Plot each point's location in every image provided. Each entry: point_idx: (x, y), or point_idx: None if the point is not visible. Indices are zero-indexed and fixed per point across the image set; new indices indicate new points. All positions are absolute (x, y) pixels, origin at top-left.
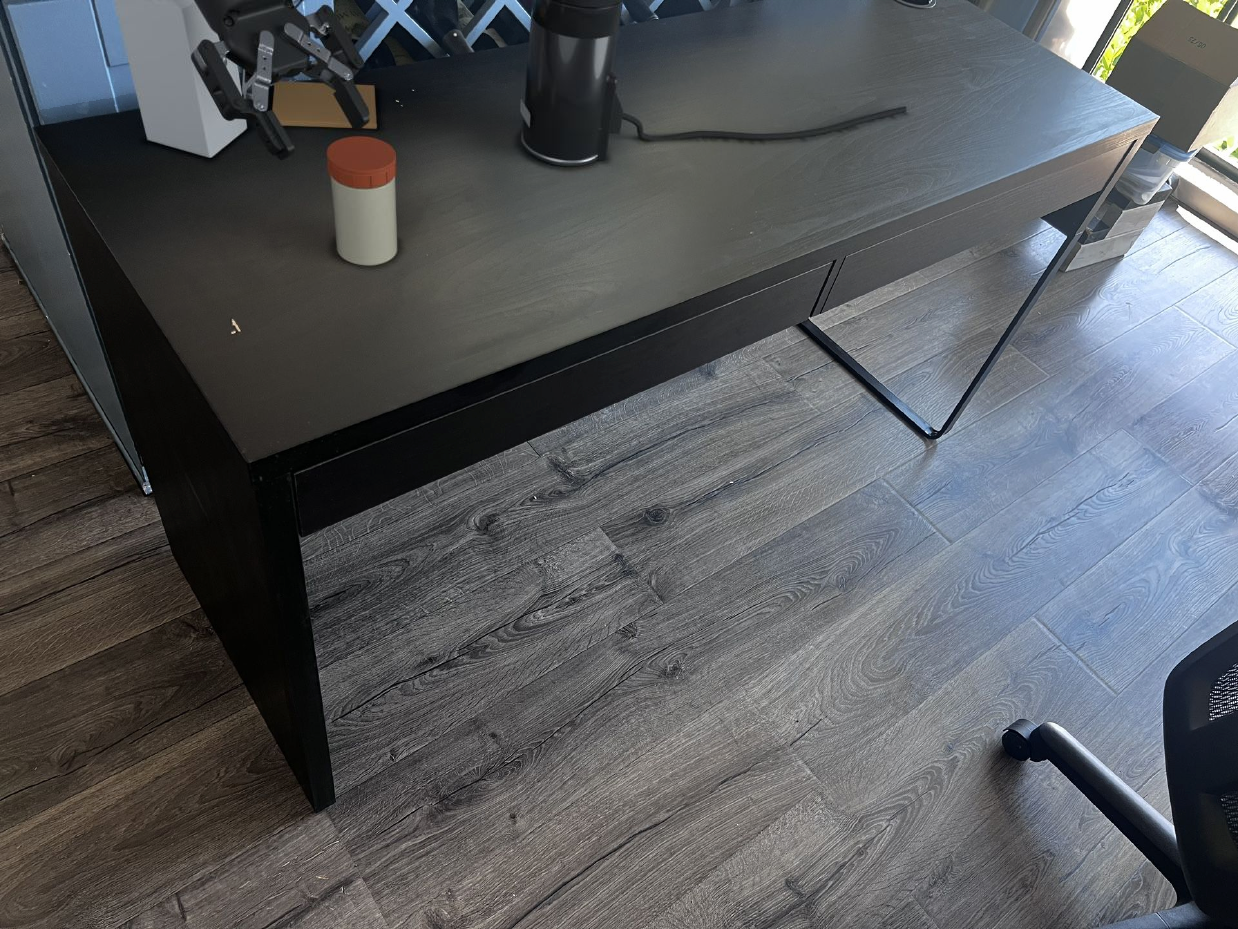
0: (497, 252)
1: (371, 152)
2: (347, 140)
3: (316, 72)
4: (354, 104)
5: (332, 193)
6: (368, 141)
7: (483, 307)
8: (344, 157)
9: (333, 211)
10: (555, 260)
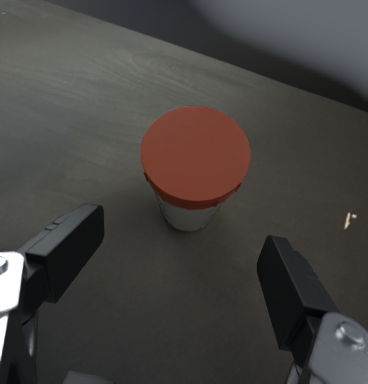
0: (126, 121)
1: (183, 139)
2: (177, 187)
3: (30, 365)
4: (81, 223)
5: (224, 201)
6: (157, 161)
7: (194, 98)
8: (224, 160)
9: (214, 214)
10: (110, 87)
